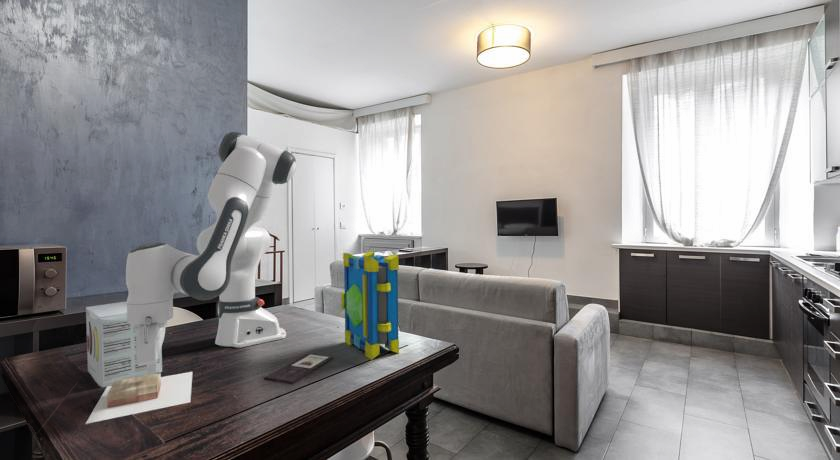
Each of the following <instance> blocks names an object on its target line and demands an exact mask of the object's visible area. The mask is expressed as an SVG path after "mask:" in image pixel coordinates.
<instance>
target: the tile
mask: <svg viewBox="0 0 840 460" xmlns="http://www.w3.org/2000/svg"><path fill="white" fill-rule="evenodd" d="M161 373H162V372H160V373H156V374H152V375H147V376H141V377H135V378H129V379H124V380H118V381H114V383H113V385H110V386H111V388H110V390H109V392H108V393H107V408H110V407H116V406H121V405H126V404H131V403H136V402H141V401H146V400H151V399H157V398H158V395H159V391H160V387H161V377H162V376H161Z"/></svg>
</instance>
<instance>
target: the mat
mask: <svg viewBox="0 0 840 460" xmlns="http://www.w3.org/2000/svg"><path fill="white" fill-rule="evenodd" d="M192 383H193V371H188V372H183V373H177V374H172V375H165V376H161V387H160V391H159V395H158V398H157V399H151V400H146V401H141V402H136V403H131V404H126V405H121V406H116V407H110V408H107V393H108V392H109V390H110V388H111V386H112V385H110V386H106V387H105V390H104V392H103V393H102V395H101V396H100V398H99V400H98V402H97V403H96V405H95V407H94V408H93V410H92V412H91V414H90V415H89V417H88V419H87V420H86V422H85V425H88V424H92V423H93V424H94V423H98V422H103V421H107V420H111V419H117V418H122V417H125V416H131V415H135V414H140V413H145V412H150V411H155V410H160V409H164V408H169V407H174V406H179V405H185V404H188V403H191V399H192V398H191V397H192V387H193V385H192Z"/></svg>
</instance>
